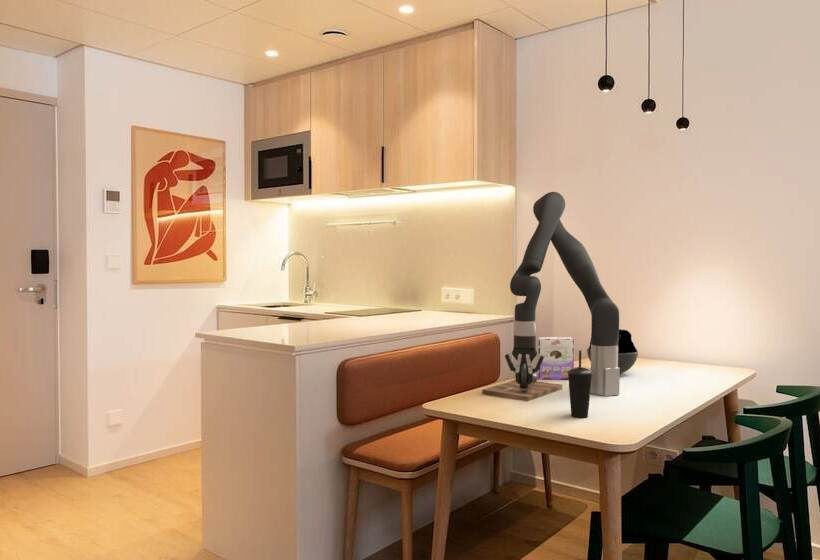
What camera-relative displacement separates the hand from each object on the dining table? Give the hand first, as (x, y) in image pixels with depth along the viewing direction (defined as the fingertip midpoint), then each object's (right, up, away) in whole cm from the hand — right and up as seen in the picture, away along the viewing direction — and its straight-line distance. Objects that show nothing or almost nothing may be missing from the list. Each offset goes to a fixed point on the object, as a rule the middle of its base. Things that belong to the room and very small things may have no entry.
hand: (524, 383), depth 221 cm
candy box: (+18, -4, +34) cm, 39 cm away
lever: (+3, -2, +9) cm, 10 cm away
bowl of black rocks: (+44, -3, +43) cm, 61 cm away
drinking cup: (+12, -6, -27) cm, 30 cm away
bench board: (+1, -4, +9) cm, 10 cm away
